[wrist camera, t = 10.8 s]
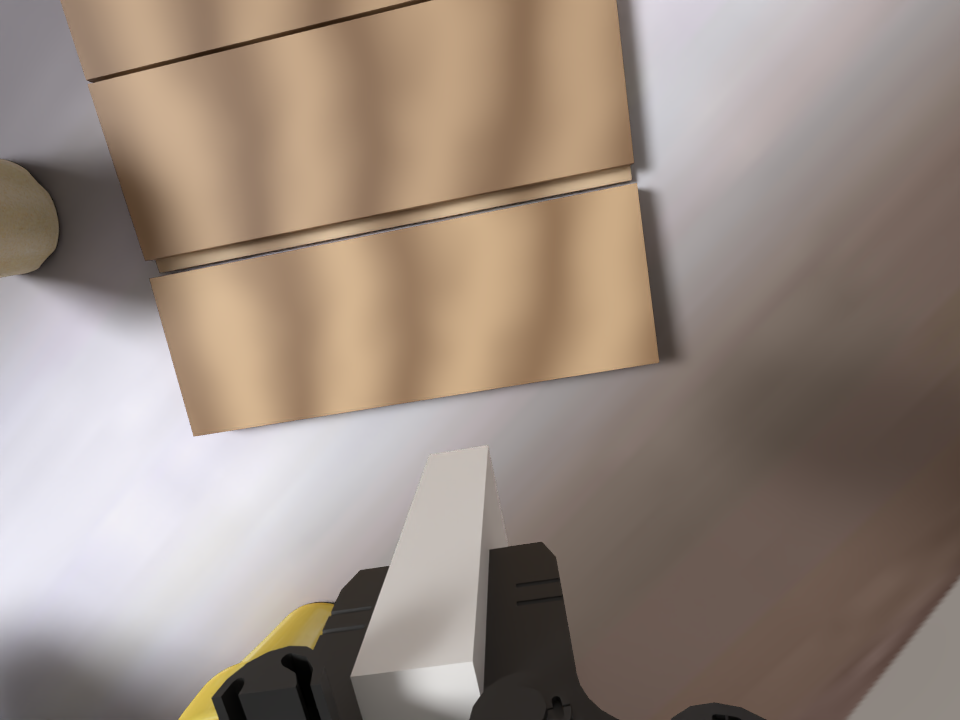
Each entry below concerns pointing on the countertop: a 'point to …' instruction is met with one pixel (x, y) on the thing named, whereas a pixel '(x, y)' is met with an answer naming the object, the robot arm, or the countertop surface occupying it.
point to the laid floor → (346, 113)
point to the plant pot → (292, 631)
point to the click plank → (413, 313)
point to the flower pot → (24, 221)
